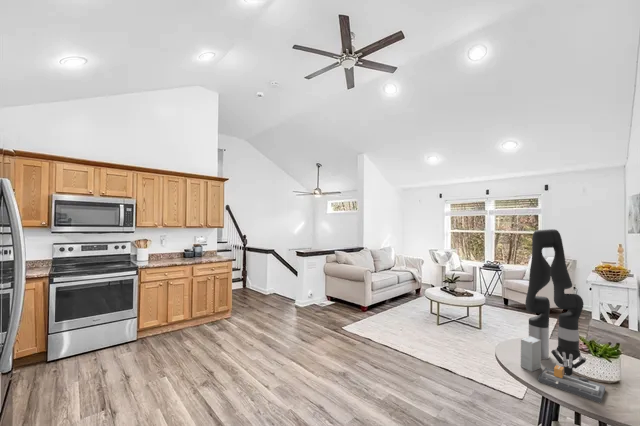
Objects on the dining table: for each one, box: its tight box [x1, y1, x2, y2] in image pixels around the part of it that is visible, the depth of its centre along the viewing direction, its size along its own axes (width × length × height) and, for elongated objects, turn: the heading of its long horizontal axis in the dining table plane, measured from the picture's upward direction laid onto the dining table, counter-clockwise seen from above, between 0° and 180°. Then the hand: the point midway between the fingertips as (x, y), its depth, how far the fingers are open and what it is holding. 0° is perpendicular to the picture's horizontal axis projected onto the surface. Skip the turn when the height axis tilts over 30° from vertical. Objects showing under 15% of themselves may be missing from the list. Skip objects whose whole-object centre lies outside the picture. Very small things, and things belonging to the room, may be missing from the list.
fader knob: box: [553, 364, 564, 379], centre depth 142 cm, size 4×3×6 cm
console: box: [537, 367, 606, 404], centre depth 141 cm, size 14×22×4 cm, turn 42°
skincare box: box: [520, 335, 542, 373], centre depth 157 cm, size 8×6×15 cm
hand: (568, 374), depth 140 cm, fingers closed
